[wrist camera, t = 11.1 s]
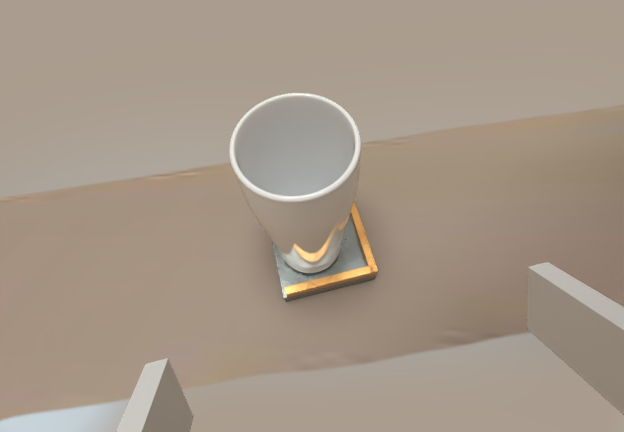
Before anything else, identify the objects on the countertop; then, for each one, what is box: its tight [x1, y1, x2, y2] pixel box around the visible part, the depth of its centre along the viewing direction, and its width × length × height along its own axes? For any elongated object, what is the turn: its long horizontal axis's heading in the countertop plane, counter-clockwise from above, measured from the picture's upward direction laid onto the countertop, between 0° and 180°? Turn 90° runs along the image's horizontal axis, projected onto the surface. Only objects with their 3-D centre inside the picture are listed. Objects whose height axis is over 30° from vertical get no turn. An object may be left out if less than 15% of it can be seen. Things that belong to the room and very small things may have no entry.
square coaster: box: [272, 201, 378, 302], centre depth 32 cm, size 8×8×2 cm
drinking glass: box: [229, 93, 361, 273], centre depth 24 cm, size 7×7×15 cm
